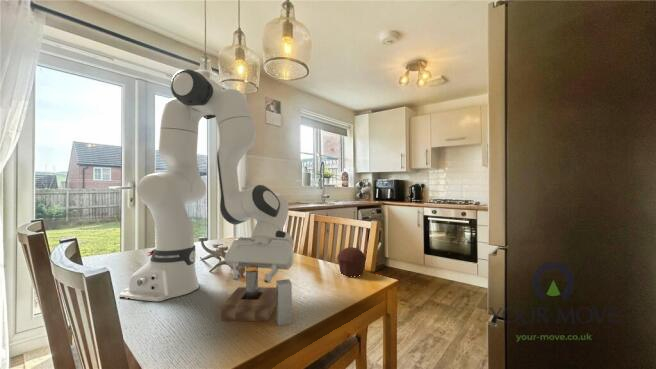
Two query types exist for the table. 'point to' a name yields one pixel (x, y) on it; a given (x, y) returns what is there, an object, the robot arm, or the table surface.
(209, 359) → the table surface
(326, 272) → the table surface
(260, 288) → the socket block
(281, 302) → the square bit
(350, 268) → the muffin
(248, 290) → the round bit
